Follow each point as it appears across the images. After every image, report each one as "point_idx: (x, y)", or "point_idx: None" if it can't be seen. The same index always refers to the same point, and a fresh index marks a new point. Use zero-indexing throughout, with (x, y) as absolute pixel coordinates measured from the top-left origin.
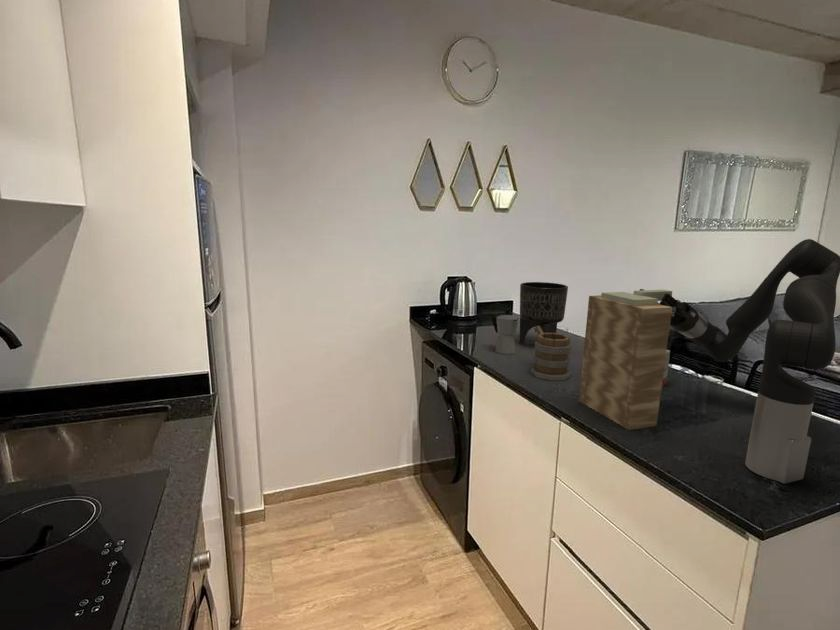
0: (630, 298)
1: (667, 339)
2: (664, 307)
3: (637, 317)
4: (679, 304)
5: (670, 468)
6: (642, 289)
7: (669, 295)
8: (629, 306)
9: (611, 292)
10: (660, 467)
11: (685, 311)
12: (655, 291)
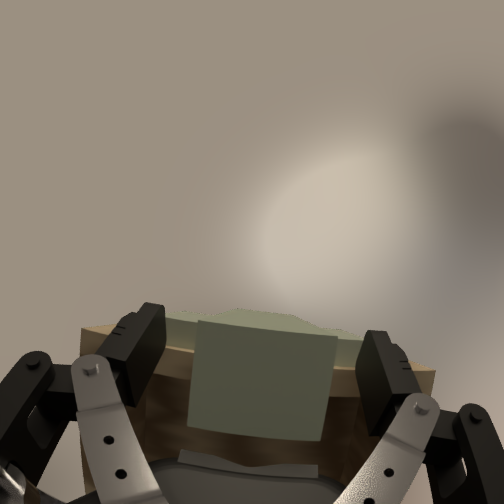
0: (210, 315)
1: (82, 451)
2: (103, 326)
3: None
4: (71, 376)
5: (42, 499)
6: (369, 331)
7: (139, 314)
8: None
9: (347, 333)
10: (53, 497)
11: (28, 418)
12: (241, 313)
